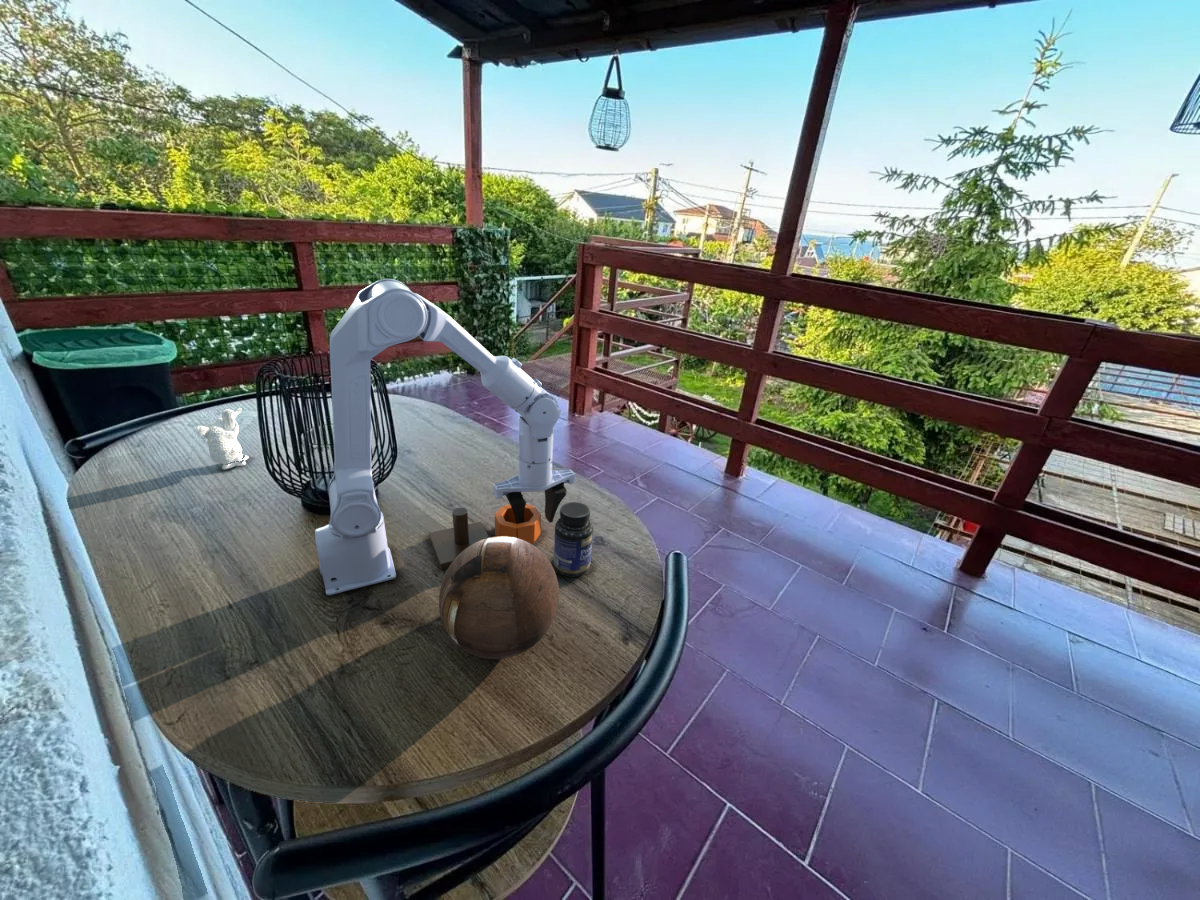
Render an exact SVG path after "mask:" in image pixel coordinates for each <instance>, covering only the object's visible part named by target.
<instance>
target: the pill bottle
mask: <svg viewBox="0 0 1200 900" xmlns="http://www.w3.org/2000/svg"><path fill="white" fill-rule="evenodd" d="M590 518H591V509H590V507H589V505H587V504H585V503H582V502H578V501H569V502H566V503H564V504H562V505H561V507H560V509H559V518H558V519H557V520H556V522H555V525H554V542H553V544H554V545H553V546H554V547H553V568H554V570H555V571H557V572H558V573H559V574H560V575H562V576H565V577H569V578H575V577H580V576H583V575H585V574H587V572H588V571H589V570H590V568H591V561H592V549H593V537H594V524H593V522H592V521H591V519H590Z"/></svg>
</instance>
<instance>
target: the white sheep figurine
mask: <svg viewBox="0 0 1200 900" xmlns="http://www.w3.org/2000/svg"><path fill="white" fill-rule="evenodd" d="M242 410H243V409H242V408H241V407H238V408H236V409H235V410H233V409H228V408H226V409H223V410H222V411H220V412H221V417H218V418H216V419H215V420H214V421H211V422H207V423H205V424H203V425H200V424H199V425H197V427H196V431H197V433H198V435H199V436H200V437H202V438H203V437H204V439H206V443H207V445H208V452H209V455H210V458H211V460H212V461H213V462H215V463H217V464H220V465H221V469H222V470H229V469H233V468H234V467H243V466H246V464H247V462H246V461H247V460H248V459H249V458H250V456H248V455H246V454H243V448H242V445H241V444H240V442H239V441H238V435H239V433H240V432H239V430H240V427H239V423H238V422H237V420H236V418H237V417H238V416H239V414H240V413H241V412H242ZM243 455H245V457H244V458H243ZM242 458H243V459H242ZM242 460H244V461H243V462H242V463H238V462H236V461H239V462H240V461H242ZM234 461H235V463H231V464H228V465H225V464H226V463H230V462H234Z"/></svg>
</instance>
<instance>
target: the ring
mask: <svg viewBox="0 0 1200 900" xmlns="http://www.w3.org/2000/svg"><path fill="white" fill-rule="evenodd" d="M541 525H542V514H541V513H540V511H539V510H538V508H537V507H536V506H534V505H533V504H527V503H526V505H525V510H524V523H520V524H516V520H515V516H514V512H513V510H512V507H511V505H510V504H506V505H502V506H501V507H500V508H499V509H498V510H497V511H496V512H495V513H494V535H495V537H498V536H507V537H514V538H518V539H521V540H524V541H526V542H528V543H530V544H532V545H533V544H534V543H535V542H536V541H537V539H538V538H539V537H540V535H541V527H542V526H541Z"/></svg>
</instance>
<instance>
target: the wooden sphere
mask: <svg viewBox="0 0 1200 900" xmlns="http://www.w3.org/2000/svg"><path fill="white" fill-rule="evenodd" d="M559 600H560V587H559V581H558V577H557V573H556V570H555V568H554V566H553V565H552V563H551V561H550V560H549V559H548V556H546V554H544V552H542V551H541V550H540V549H539V548H538V547H537V546H535V545H534V544H533V543H532V544H530V543H528V542H526V541H524V540H521V539H518V538H514V537H507V536H498V537H497V536H492V537H489V538H487V539H483V540H481V541H478V542H476V543H474V544H472V545H471V546H469V547H468V548H466V549H465V550H464V551H462V552H461V553H460V554H459V555H458V556H457V557H456V558H455V559H454V561H453V562H452V563H451V565H450V566H449V568H447V569H446V571H445V574H444V576H443V578H442V581H441V585H440V589H439V594H438V607H439V613H440V618H441V621H442V624H443V626H444V629H445V630H446V633H447V634H448V635H449V637H450V639H452V641H453V642H454V643H455V644H456V645H457V646H458V647H460V648H461V650H462V649H463V650H464V651H465V652H467V653H469V654H470V655H474V656H476V657H479V658H483V659H488V660H504V659H509V658H512V657H513V658H514V657H515V656H518V655H521V654H522V653H524V652H526V651H528V650H529V649H531V648H533V647H534V646H535V645H536V644H537V643H539V642H540V641H541V640H542V639H543V638H544V636H546V634H547V633H548V631H549V630H550V628H551V626H552V624H553V623H554V620H555V618H556V615H557V612H558V608H559Z"/></svg>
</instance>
